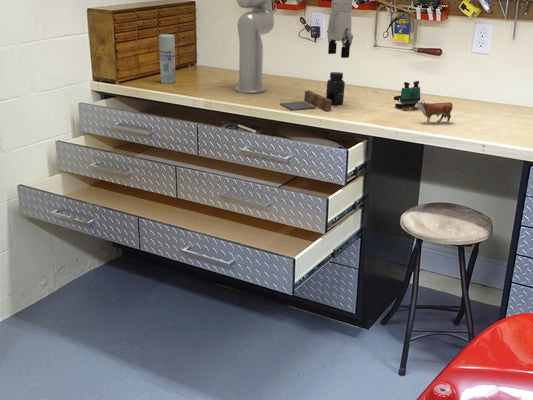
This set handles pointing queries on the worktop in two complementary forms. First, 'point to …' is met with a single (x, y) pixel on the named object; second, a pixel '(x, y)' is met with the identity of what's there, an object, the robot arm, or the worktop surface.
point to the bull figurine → (435, 110)
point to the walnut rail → (318, 100)
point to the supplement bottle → (335, 88)
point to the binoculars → (409, 96)
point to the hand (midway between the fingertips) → (338, 55)
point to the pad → (297, 106)
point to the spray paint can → (167, 58)
